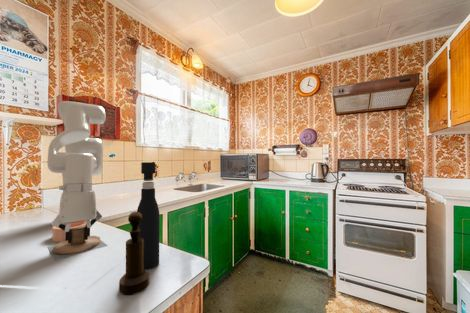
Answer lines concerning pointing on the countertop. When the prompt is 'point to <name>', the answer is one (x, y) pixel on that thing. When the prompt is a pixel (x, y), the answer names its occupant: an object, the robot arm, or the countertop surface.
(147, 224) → the wine bottle
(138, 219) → the dark brown knobbed cylinder
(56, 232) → the bowl
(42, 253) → the countertop surface
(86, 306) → the countertop surface
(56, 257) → the mat
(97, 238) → the lid
